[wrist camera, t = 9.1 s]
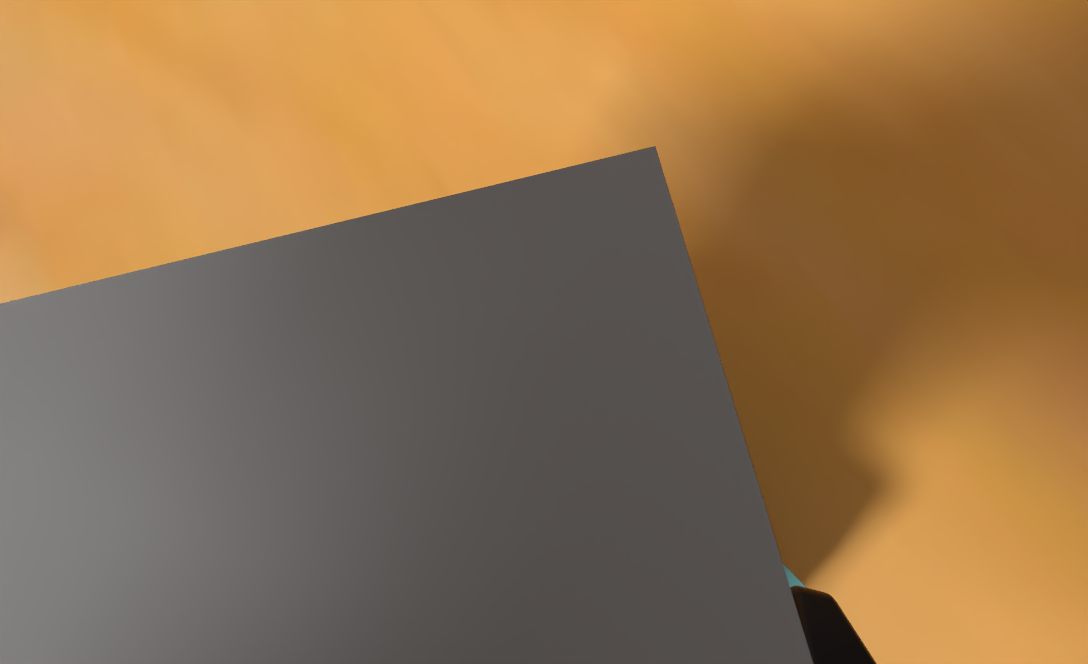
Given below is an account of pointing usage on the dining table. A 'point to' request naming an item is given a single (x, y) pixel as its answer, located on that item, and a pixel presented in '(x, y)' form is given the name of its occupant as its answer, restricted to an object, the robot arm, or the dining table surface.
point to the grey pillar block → (392, 448)
